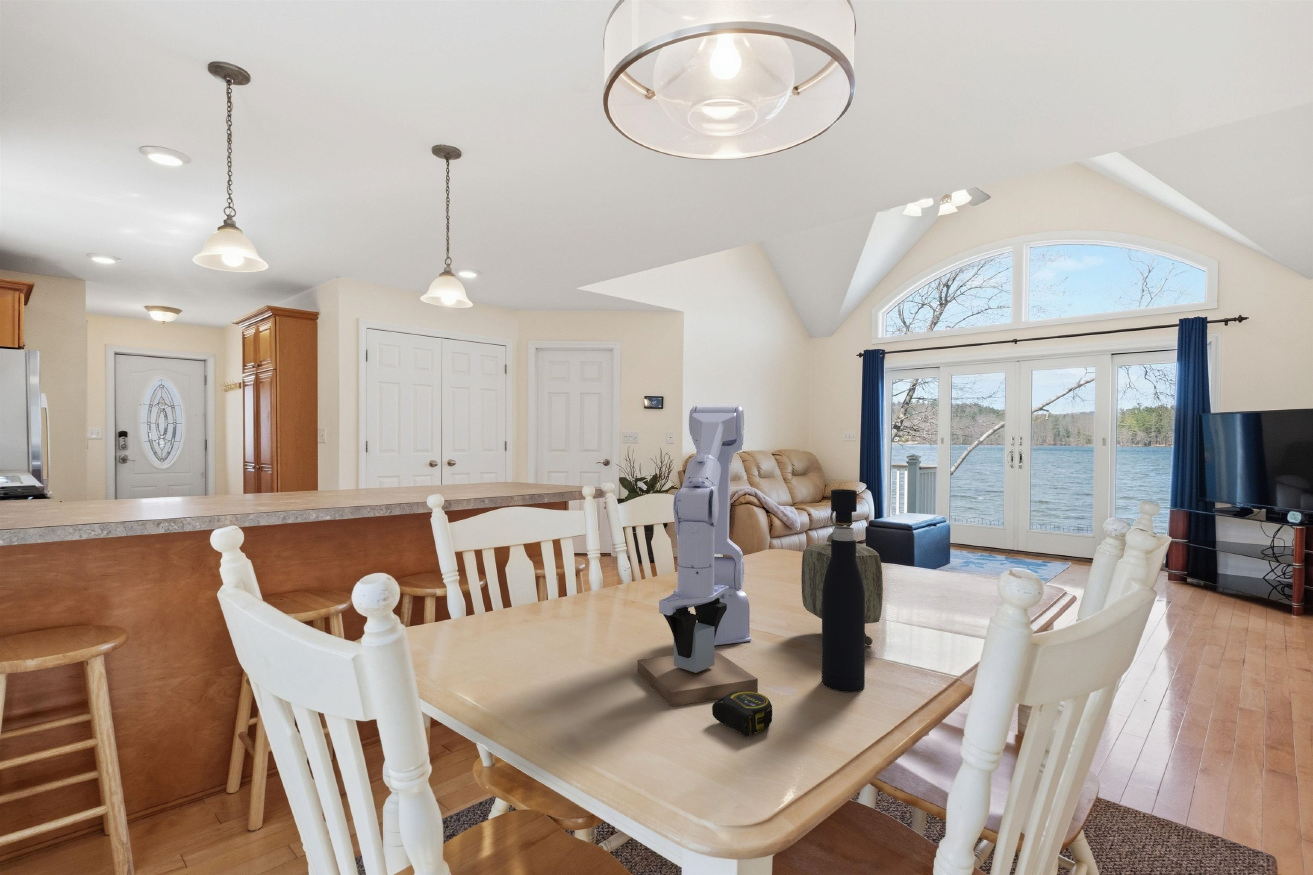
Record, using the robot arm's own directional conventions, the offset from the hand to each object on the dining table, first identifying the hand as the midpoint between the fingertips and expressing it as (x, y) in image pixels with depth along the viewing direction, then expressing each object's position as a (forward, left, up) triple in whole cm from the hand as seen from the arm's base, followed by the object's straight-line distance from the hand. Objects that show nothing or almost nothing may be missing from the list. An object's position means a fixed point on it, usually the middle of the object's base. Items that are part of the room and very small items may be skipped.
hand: (695, 652), depth 98 cm
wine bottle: (-21, +9, -5) cm, 23 cm away
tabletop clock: (-35, -10, -5) cm, 37 cm away
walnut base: (0, 0, -5) cm, 5 cm away
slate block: (0, 0, -2) cm, 2 cm away
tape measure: (+1, +17, -5) cm, 17 cm away
